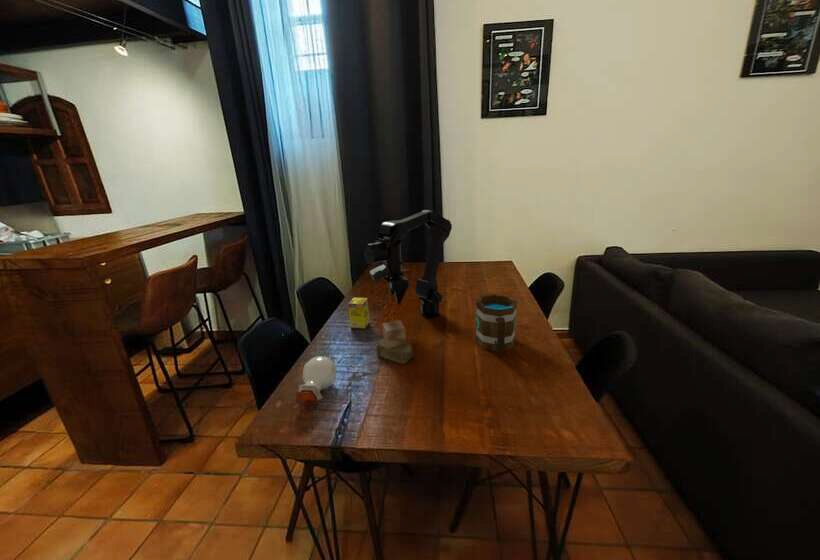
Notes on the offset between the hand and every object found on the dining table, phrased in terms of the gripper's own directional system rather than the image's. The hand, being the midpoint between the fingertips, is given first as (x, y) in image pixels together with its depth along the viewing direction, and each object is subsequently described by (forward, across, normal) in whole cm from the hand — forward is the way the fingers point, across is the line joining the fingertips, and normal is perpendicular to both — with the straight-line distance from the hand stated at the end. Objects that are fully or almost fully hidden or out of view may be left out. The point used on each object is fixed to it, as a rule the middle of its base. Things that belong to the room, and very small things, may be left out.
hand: (395, 298), depth 126 cm
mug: (+13, +24, +28) cm, 39 cm away
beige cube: (+8, +17, -5) cm, 20 cm away
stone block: (+13, +18, -6) cm, 23 cm away
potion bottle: (+13, +29, -30) cm, 44 cm away
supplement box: (+13, -8, -13) cm, 20 cm away
